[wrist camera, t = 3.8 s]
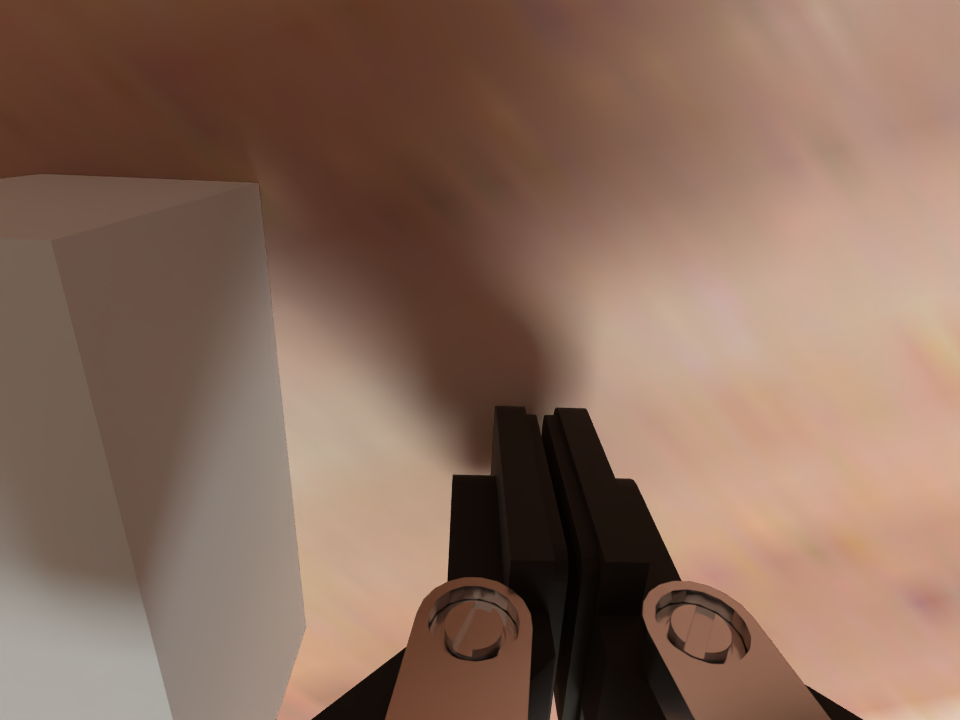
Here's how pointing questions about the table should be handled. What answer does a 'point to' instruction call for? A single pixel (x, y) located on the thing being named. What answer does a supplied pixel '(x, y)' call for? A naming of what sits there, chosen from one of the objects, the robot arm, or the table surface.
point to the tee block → (141, 455)
